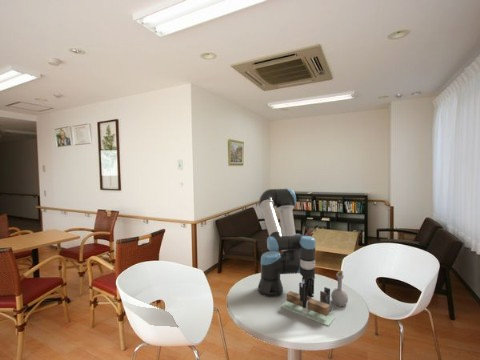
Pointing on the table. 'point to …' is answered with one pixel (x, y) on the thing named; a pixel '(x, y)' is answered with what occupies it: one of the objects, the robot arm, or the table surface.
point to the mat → (309, 314)
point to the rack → (324, 296)
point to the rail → (309, 303)
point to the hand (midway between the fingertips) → (306, 310)
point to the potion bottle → (339, 292)
